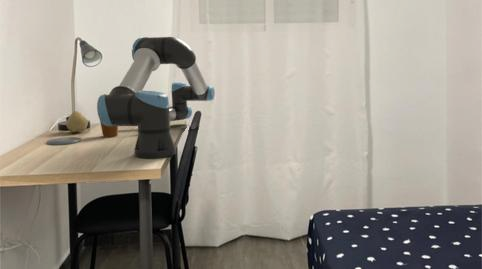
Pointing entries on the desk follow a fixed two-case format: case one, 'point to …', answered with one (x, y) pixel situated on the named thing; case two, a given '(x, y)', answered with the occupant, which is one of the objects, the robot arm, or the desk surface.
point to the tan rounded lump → (76, 122)
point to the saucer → (64, 141)
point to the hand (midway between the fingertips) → (127, 119)
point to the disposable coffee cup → (109, 130)
